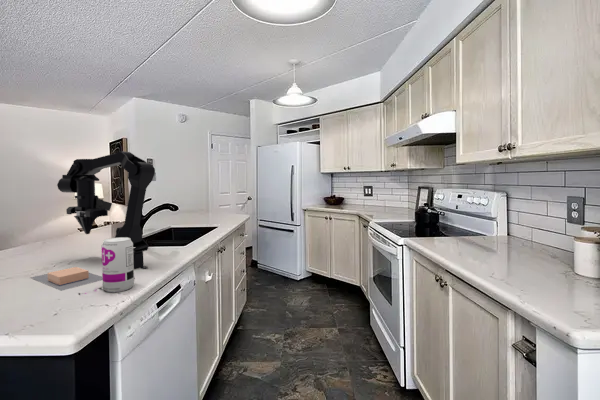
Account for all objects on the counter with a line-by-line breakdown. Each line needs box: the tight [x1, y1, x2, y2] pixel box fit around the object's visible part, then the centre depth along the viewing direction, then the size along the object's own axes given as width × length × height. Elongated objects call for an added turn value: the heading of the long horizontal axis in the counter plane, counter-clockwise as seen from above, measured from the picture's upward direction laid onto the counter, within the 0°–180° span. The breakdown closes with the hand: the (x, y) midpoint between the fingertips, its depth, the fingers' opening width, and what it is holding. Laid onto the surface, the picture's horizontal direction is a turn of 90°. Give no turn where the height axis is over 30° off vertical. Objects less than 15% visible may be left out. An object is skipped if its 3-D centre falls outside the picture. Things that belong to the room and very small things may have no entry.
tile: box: [46, 266, 90, 286], centre depth 100 cm, size 3×8×8 cm
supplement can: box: [101, 237, 135, 293], centre depth 95 cm, size 8×8×15 cm
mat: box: [29, 272, 103, 291], centre depth 102 cm, size 22×13×1 cm, turn 59°
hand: (87, 233), depth 120 cm, fingers closed
